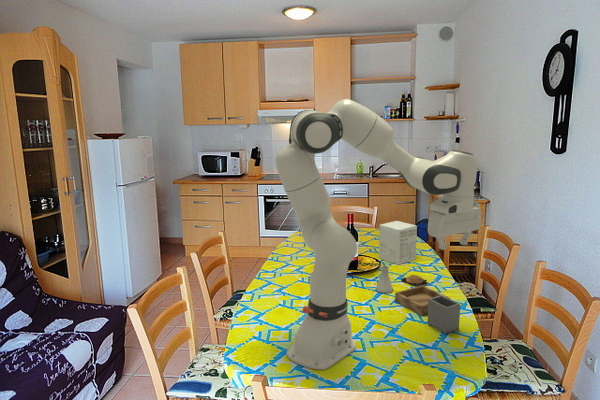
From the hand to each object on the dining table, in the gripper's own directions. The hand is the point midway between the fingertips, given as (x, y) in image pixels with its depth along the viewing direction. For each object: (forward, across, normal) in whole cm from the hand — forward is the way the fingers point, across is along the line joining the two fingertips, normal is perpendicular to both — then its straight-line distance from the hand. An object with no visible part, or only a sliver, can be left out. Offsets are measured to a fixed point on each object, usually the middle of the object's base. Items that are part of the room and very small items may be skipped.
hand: (453, 246), depth 126 cm
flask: (+31, -4, -35) cm, 47 cm away
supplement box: (+31, -35, -61) cm, 77 cm away
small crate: (+29, -1, -2) cm, 29 cm away
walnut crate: (+30, -8, -18) cm, 35 cm away
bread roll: (+31, -21, -34) cm, 50 cm away
